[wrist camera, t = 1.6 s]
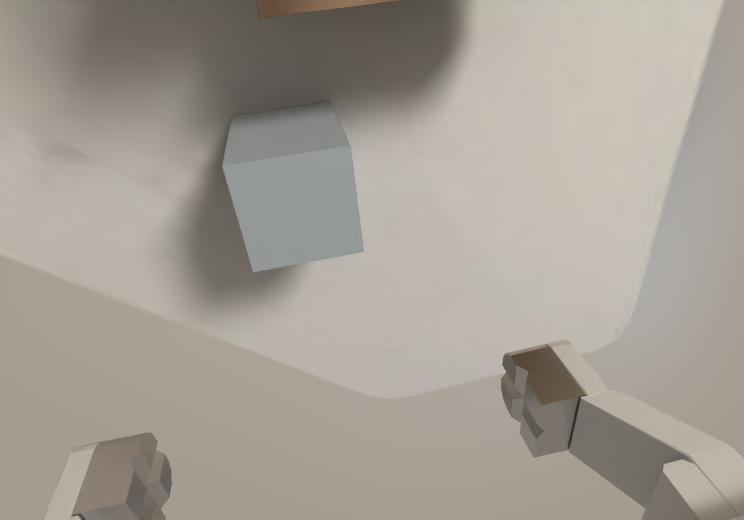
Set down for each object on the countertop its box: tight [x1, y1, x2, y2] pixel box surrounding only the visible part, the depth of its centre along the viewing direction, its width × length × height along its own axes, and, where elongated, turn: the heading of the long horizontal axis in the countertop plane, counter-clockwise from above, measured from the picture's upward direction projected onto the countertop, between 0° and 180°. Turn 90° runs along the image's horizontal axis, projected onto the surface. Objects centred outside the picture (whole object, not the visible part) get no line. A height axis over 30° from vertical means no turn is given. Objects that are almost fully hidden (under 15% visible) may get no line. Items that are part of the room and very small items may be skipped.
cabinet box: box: [222, 101, 364, 272], centre depth 23 cm, size 5×6×7 cm
